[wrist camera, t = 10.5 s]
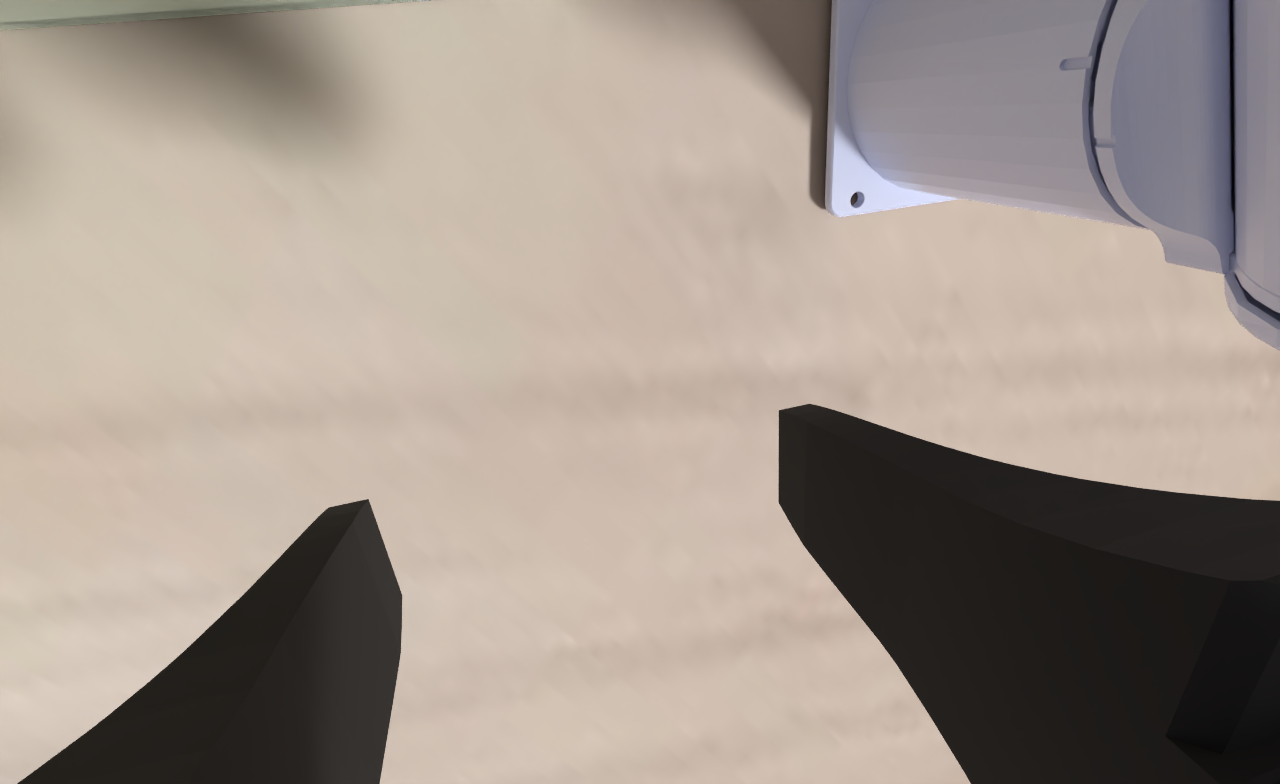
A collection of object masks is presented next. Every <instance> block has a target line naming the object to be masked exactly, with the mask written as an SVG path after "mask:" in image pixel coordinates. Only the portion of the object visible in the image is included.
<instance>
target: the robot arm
mask: <svg viewBox="0 0 1280 784" xmlns="http://www.w3.org/2000/svg"><path fill="white" fill-rule="evenodd" d="M855 192H856V193H857V195H858V199H857V202H856V203H855V204H854V205H853V206H852V205H851V202H850V200H851V196H852V195H853V194H854V193H855ZM957 199H965V200H971V201H977V202H983V203H989V204H995V205H1001V206H1007V207H1013V208H1020V209H1026V210H1032V211H1038V212H1044V213H1050V214H1056V215H1062V216H1068V217H1075V218H1081V219H1087V220H1093V221H1099V222H1105V223H1111V224H1117V225H1123V226H1130V227H1136V228H1142V229H1148V230H1151V231H1153V232H1154V233H1155V234H1156V235H1157V237H1158V238H1159V239H1160V241H1161V243H1162V246H1163V249H1164V255H1165V260H1166V262H1167V263H1172V264H1177V265H1182V266H1186V267H1191V268H1196V269H1201V270H1206V271H1211V272H1216V273H1220V274H1225V276H1224V286H1225V296H1226V300H1227V304H1228V307H1229V309H1230V311H1231V312H1232V314H1233V315H1234V316H1235V318H1236V319H1237V321H1238V322H1239V324H1241V325H1242V326H1243V327H1244V328H1245V329H1246V330H1248V331H1249V332H1250V333H1251V334H1252V335H1254V336H1255V337H1256V338H1258V339H1260V340H1261V341H1263V342H1265V343H1267V344H1269V345H1270V346H1272V347H1274V348H1276V349H1277V350H1280V0H832V14H831V43H830V71H829V99H828V128H827V156H826V185H825V207H826V210H827V211H828V213H830V214H831V215H833V216H837V217H845V216H852V215H858V214H865V213H871V212H878V211H885V210H891V209H898V208H904V207H911V206H917V205H924V204H930V203H937V202H943V201H950V200H957ZM779 504H780V506H781V507H782V509H783V511H784V513H785V514H786V516H787V518H788V520H789V522H790V523H791V525H792V527H793V528H794V530H795V532H796V533H797V535H798V537H799V538H800V540H801V542H802V543H803V545H804V546H805V548H806V549H807V550H808V552H809V553H810V554H811V555H812V557H813V558H814V559H815V561H816V562H817V563H818V564H819V566H820V567H821V568H822V570H823V571H824V572H825V573H826V575H827V576H828V577H829V578H830V580H831V581H832V582H833V583H834V585H835V586H836V587H837V588H838V590H839V591H840V592H841V593H842V595H843V596H844V597H845V598H846V600H847V601H848V602H849V603H850V605H851V606H852V607H853V608H854V610H855V611H856V612H857V613H858V615H859V616H860V617H861V618H862V620H863V621H864V622H865V623H866V625H867V626H868V627H869V628H870V630H871V631H872V632H873V633H874V635H875V636H876V637H877V638H878V640H879V641H880V642H881V644H882V645H883V646H884V648H885V649H886V650H887V652H888V653H889V654H890V656H891V657H892V659H893V660H894V661H895V663H896V664H897V666H898V667H899V669H900V670H901V672H902V673H903V675H904V676H905V678H906V679H907V681H908V683H909V684H910V686H911V687H912V689H913V690H914V692H915V693H916V695H917V696H918V698H919V700H920V701H921V703H922V704H923V706H924V707H925V709H926V710H927V712H928V713H929V715H930V717H931V718H932V720H933V722H934V723H935V725H936V726H937V728H938V730H939V731H940V733H941V735H942V736H943V738H944V740H945V741H946V743H947V744H948V746H949V748H950V749H951V751H952V753H953V754H954V756H955V758H956V759H957V761H958V762H959V764H960V766H961V767H962V769H963V771H964V772H965V774H966V776H967V777H968V779H969V781H970V783H971V784H1280V501H1271V500H1252V499H1238V498H1228V497H1217V496H1206V495H1196V494H1185V493H1176V492H1167V491H1159V490H1151V489H1143V488H1135V487H1129V486H1122V485H1116V484H1110V483H1103V482H1097V481H1090V480H1084V479H1078V478H1073V477H1067V476H1062V475H1057V474H1052V473H1047V472H1043V471H1038V470H1034V469H1029V468H1024V467H1020V466H1015V465H1011V464H1006V463H1002V462H998V461H994V460H990V459H987V458H983V457H979V456H976V455H972V454H969V453H965V452H962V451H958V450H955V449H951V448H948V447H944V446H941V445H938V444H935V443H931V442H928V441H925V440H922V439H919V438H916V437H913V436H910V435H907V434H904V433H901V432H898V431H895V430H892V429H889V428H886V427H883V426H880V425H877V424H874V423H871V422H868V421H865V420H862V419H859V418H856V417H853V416H850V415H847V414H844V413H841V412H838V411H835V410H832V409H828V408H825V407H821V406H817V405H812V404H807V405H802V406H797V407H793V408H788V409H783V410H779ZM401 630H402V594H401V591H400V588H399V585H398V582H397V579H396V577H395V574H394V571H393V568H392V565H391V562H390V559H389V557H388V554H387V551H386V548H385V545H384V542H383V539H382V537H381V534H380V531H379V528H378V525H377V522H376V519H375V517H374V514H373V511H372V508H371V505H370V502H369V499H367V500H362V501H357V502H353V503H348V504H343V505H339V506H334V507H330V508H328V509H327V510H325V511H324V512H323V513H322V514H321V515H320V516H319V517H318V518H317V519H316V520H315V521H314V522H313V523H312V524H311V525H310V526H309V527H308V528H307V529H306V530H305V531H304V532H303V533H302V534H301V535H300V536H299V538H298V539H297V540H296V541H295V542H294V543H293V544H292V545H291V546H290V547H289V548H288V549H287V550H286V551H285V552H284V553H283V554H282V556H281V557H280V558H279V559H278V560H277V561H276V562H275V563H274V564H273V565H272V566H271V567H270V568H269V569H268V570H267V571H266V572H265V573H264V574H263V575H262V576H261V577H260V578H259V579H258V580H257V581H256V582H255V583H254V584H253V586H252V587H251V588H250V589H249V590H248V591H247V592H246V593H245V594H244V595H243V596H242V597H241V598H240V599H239V600H238V601H236V602H235V603H234V604H233V605H232V606H231V607H230V608H229V609H228V610H227V611H226V612H225V613H224V614H223V615H222V616H221V617H220V618H219V619H218V620H217V621H216V622H214V623H213V624H212V625H211V626H210V627H209V628H208V629H207V630H206V631H205V632H204V633H203V634H202V635H201V636H200V637H199V638H198V639H197V640H196V641H195V642H194V643H193V644H191V645H190V646H189V647H188V648H187V649H186V650H185V651H184V652H183V653H182V654H181V655H179V656H178V657H177V658H176V659H175V660H174V661H173V662H172V663H171V664H169V665H168V666H167V667H166V668H165V669H164V670H162V671H161V672H160V673H159V674H158V675H157V676H155V677H154V678H153V679H152V680H151V681H150V682H148V683H147V684H146V685H145V686H144V687H142V688H141V689H140V690H139V691H138V692H136V693H135V694H134V695H133V696H131V697H130V698H129V699H128V700H127V701H125V702H124V703H123V704H122V705H121V706H119V707H118V708H117V709H116V710H114V711H113V712H112V713H111V714H110V715H108V716H107V717H106V718H105V719H103V720H102V721H101V722H99V723H98V724H97V725H96V726H94V727H93V728H92V729H91V730H89V731H88V732H87V733H85V734H84V735H83V736H81V737H80V738H78V739H77V740H76V741H74V742H73V743H72V744H70V745H69V746H68V747H66V748H65V749H64V750H62V751H61V752H60V753H58V754H57V755H56V756H54V757H53V758H51V759H50V760H49V761H47V762H46V763H45V764H43V765H42V766H41V767H39V768H38V769H37V770H35V771H34V772H33V773H31V774H30V775H29V776H27V777H26V778H25V779H23V780H22V781H20V782H19V783H18V784H379V783H380V777H381V771H382V765H383V759H384V753H385V747H386V740H387V734H388V728H389V722H390V716H391V710H392V704H393V698H394V692H395V686H396V679H397V673H398V667H399V660H400V653H401Z"/></svg>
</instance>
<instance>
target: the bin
mask: <svg viewBox="0 0 1280 784" xmlns="http://www.w3.org/2000/svg"><path fill="white" fill-rule="evenodd" d="M414 1H429V0H0V30H14V29H28V28H42V27H57V26H71V25H85V24H100V23H114V22H128V21H143V20H157V19H171V18H186V17H200V16H214V15H228V14H243V13H257V12H271V11H286V10H300V9H314V8H329V7H343V6H357V5H372V4H386V3H400V2H414Z"/></svg>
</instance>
